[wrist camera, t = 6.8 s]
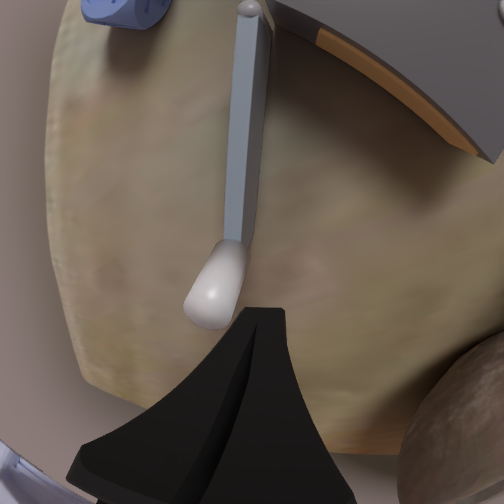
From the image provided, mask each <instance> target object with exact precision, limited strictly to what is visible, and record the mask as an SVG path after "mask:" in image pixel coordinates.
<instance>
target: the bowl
mask: <svg viewBox="0 0 504 504" xmlns="http://www.w3.org/2000/svg"><path fill="white" fill-rule="evenodd" d="M397 492H398V498H399V502H400V504H484V503H487V502H489V501H491V500H493V499H495V498H497V497H500V496H502V495H504V331H502V332H500V333H498V334H496V335H494V336H491V337H490V338H488V339H486V340H485V341H483V342H481V343H480V344H478V345H477V346H475V347H473V348H472V349H471V350H469V351H468V352H467V353H465V354H464V355H463V356H461V357H460V358H459V359H458V360H457V361H456V362H455V363H454V364H453V365H452V366H451V367H450V369H449V370H448V371H447V372H446V373H445V374H444V376H443V377H442V378H441V379H440V380H439V382H438V383H437V384H436V385H435V386H434V388H433V389H432V390H431V391H430V392H429V394H428V395H427V396H426V397H425V399H424V400H423V401H422V403H421V404H420V406H419V407H418V409H417V410H416V412H415V414H414V415H413V417H412V419H411V421H410V424H409V426H408V428H407V430H406V432H405V435H404V438H403V442H402V445H401V450H400V455H399V461H398V469H397Z"/></svg>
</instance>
